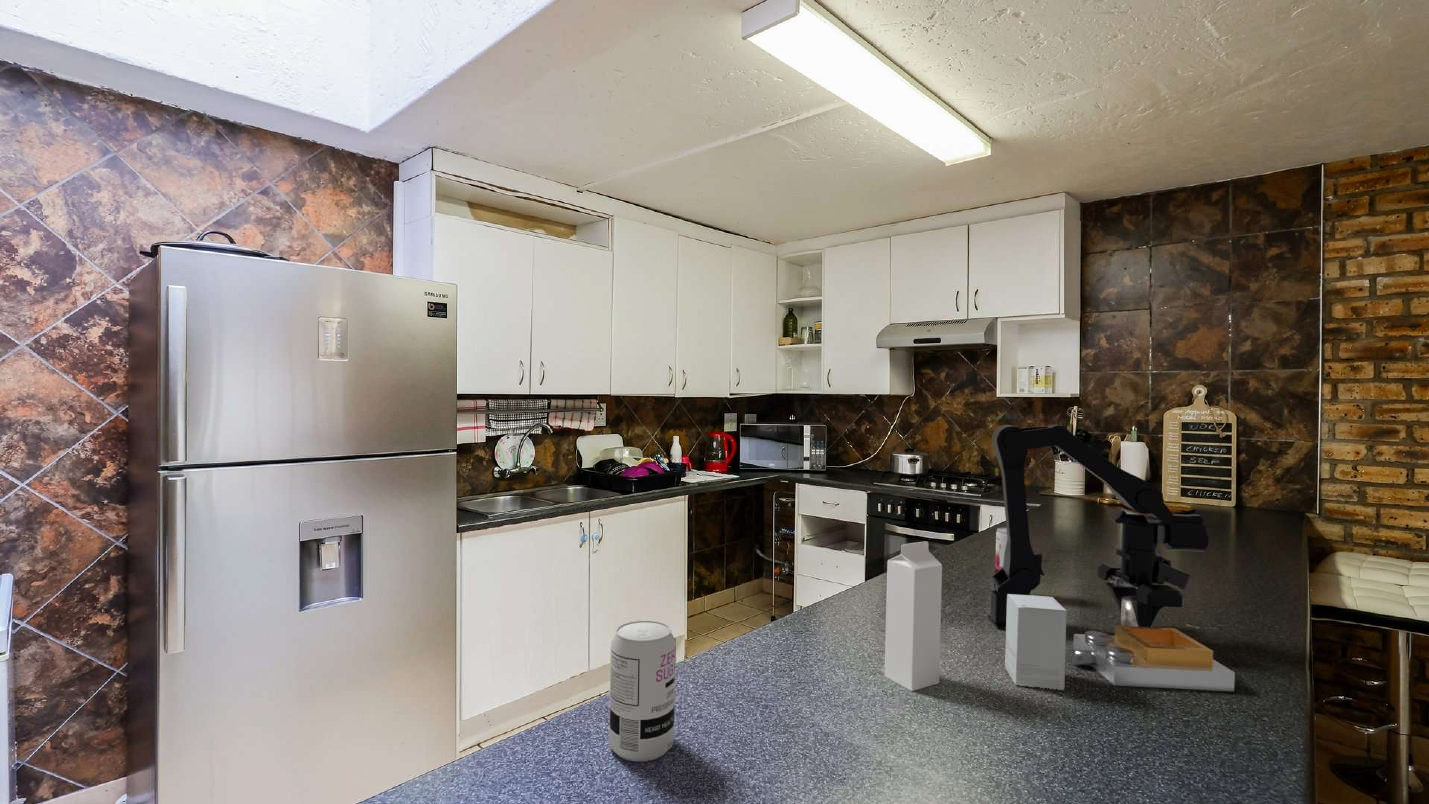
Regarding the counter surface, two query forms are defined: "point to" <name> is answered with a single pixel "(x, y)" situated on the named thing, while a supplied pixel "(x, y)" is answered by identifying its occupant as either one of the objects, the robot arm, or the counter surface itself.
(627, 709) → the supplement can
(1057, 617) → the supplement box
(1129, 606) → the spout can
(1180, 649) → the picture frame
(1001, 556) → the beverage can
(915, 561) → the milk
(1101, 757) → the counter surface
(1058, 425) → the robot arm
